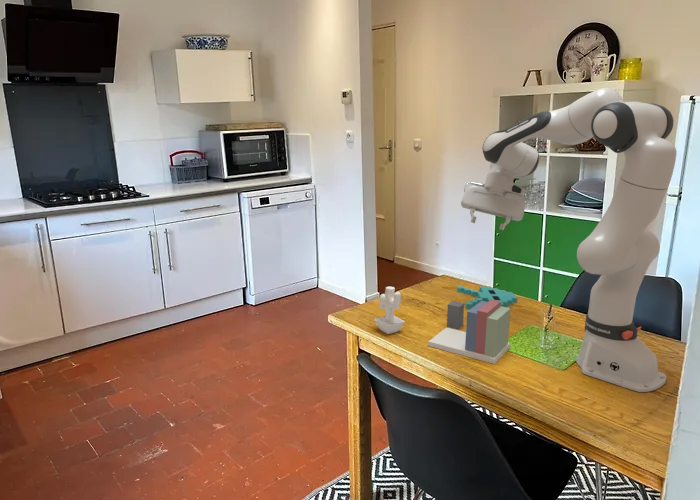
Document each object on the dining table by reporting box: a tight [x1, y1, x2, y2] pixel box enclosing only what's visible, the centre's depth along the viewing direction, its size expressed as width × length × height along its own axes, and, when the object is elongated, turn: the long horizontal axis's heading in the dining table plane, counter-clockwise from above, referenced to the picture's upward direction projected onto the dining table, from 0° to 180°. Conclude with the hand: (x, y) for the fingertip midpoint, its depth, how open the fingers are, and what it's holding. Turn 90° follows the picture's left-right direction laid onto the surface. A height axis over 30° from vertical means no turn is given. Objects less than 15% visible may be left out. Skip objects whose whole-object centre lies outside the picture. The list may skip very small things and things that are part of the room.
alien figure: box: [456, 285, 518, 310], centre depth 202 cm, size 20×2×20 cm
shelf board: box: [427, 300, 511, 365], centre depth 160 cm, size 21×13×14 cm, turn 55°
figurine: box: [373, 286, 406, 335], centre depth 172 cm, size 7×9×15 cm
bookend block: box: [446, 300, 465, 330], centre depth 176 cm, size 4×4×8 cm
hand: (487, 225), depth 173 cm, fingers open, 8 cm apart
